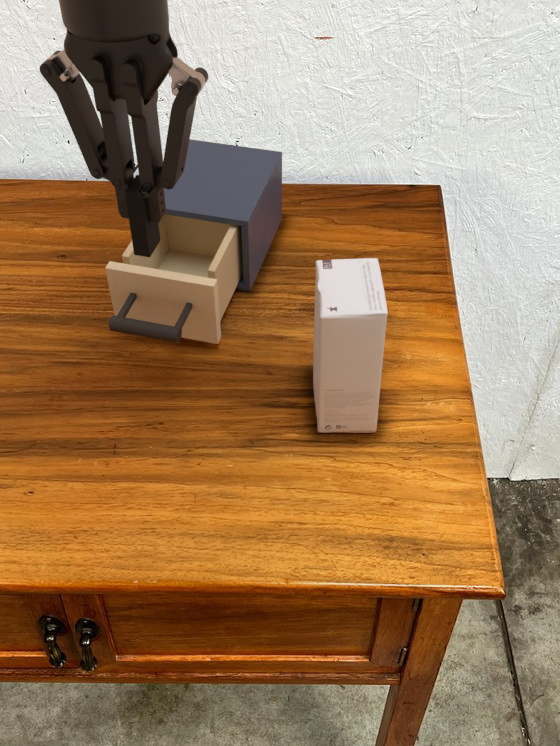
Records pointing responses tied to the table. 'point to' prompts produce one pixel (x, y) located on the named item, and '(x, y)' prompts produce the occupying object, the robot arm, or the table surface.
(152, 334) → the drawer
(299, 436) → the table surface
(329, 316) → the cosmetic box
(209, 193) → the cabinet
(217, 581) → the table surface
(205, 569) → the table surface
